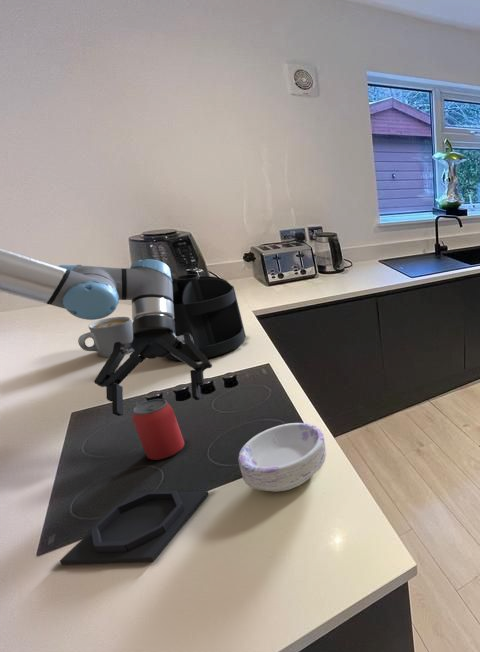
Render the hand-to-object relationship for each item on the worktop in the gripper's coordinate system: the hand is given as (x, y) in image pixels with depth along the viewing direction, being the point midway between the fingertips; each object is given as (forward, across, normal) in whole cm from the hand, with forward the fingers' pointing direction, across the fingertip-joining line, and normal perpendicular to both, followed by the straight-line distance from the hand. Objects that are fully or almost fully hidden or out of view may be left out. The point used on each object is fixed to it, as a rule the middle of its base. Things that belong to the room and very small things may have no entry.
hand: (158, 406), depth 88 cm
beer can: (+10, 0, -4) cm, 10 cm away
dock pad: (+25, 0, +12) cm, 28 cm away
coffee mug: (-38, +26, -52) cm, 69 cm away
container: (-32, -1, -45) cm, 55 cm away
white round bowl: (+24, -24, +10) cm, 35 cm away
